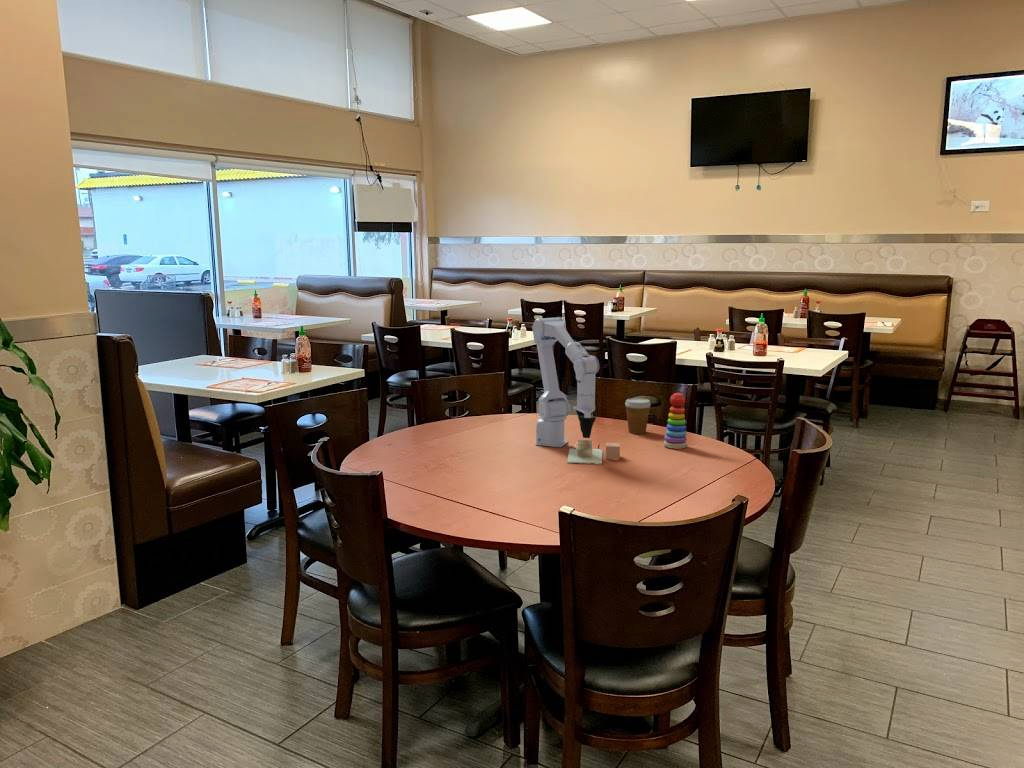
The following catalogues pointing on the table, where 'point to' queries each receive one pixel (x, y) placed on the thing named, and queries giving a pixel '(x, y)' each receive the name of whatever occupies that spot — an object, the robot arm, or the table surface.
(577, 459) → the plate
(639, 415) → the disposable coffee cup
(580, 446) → the beech block
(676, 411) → the stacking toy
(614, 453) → the pinkish tan cube
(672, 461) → the table surface
